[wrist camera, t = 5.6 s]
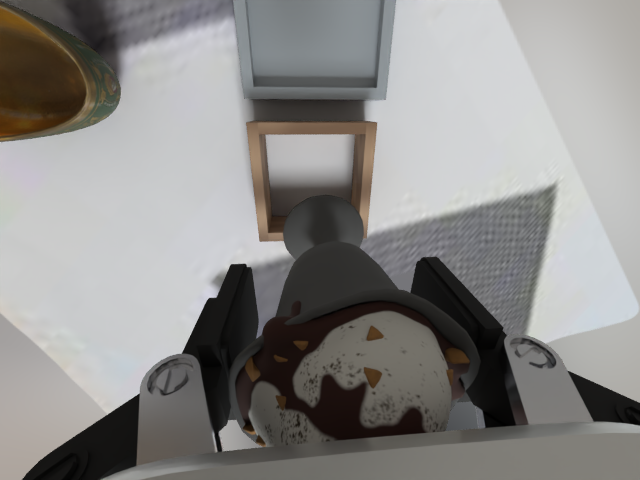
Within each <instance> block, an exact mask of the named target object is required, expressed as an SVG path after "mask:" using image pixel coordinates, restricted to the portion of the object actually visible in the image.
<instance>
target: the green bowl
mask: <svg viewBox="0 0 640 480" xmlns="http://www.w3.org/2000/svg"><path fill="white" fill-rule="evenodd" d="M120 95H121V87H120V84H119V81H118V79H117V77H116V75H115V73H114V71H113V70H112V68H111V67H110V66H109V64H108V63H107V62H106V61H105V60H104V59H103V58H102V57H101V56H100V55H99V54H98V53H97V52H95V51H94V50H93V49H92V48H90V47H89V46H88V45H86V44H85V43H83V42H82V41H81V40H79V39H78V38H76V37H75V36H73V35H71V34H69V33H67V32H66V31H64V30H62V29H60V28H59V27H56V26H54V25H52V24H51V23H49V22H46V21H44V20H42V19H41V18H38V17H36V16H34V15H32V14H30V13H28V12H26V11H23V10H21V9H18V8H16V7H14V6H12V5H9V4H6V3H4V2H1V1H0V142H4V141H15V140H24V139H32V138H39V137H45V136H51V135H58V134H62V133H67V132H72V131H75V130H79V129H82V128H86V127H88V126H91V125H94V124H96V123H98V122H100V121H102V120H103V119H105V118H107V117H108V116H109V115H110V114H111V113H113V111H114V110H115V109H116V107H117V106H118V104H119V101H120Z"/></svg>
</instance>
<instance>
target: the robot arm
mask: <svg viewBox="0 0 640 480" xmlns="http://www.w3.org/2000/svg"><path fill="white" fill-rule="evenodd" d="M411 293H412V294H414V295H416V296H419V297H421V298H423V299H426V300H428V301H429V302H431V303H432V304H434V305H435V306H436V307H438V308H439V309H441V310H442V311H443V312H445V313H446V314H448V315H449V316H450V317H451V318H452V319H453V320H455V321H456V322H457V323H458V324H459V325H460V326H461V327H462V328H464V329H465V330H466V331H467V333H468V334H469V336H470V338H471V339H472V341H473V343H474V344H475V346H476V348H477V351H478V354H479V357H480V360H481V362H480V366H479V370H478V374H477V376H476V378H475V379H474V381H473V383H472V384H471V385H470V386H469V387H468V389H467V390H466V391H465V393H464V395H463V397H462V398H460V399H459V400H458V401H457V402H468V401H472V403H473V404H474V405H475V406H476V414H477V420H478V427H479V429H469V430H457V431H443V432H432V433H420V434H408V435H396V436H385V437H373V438H362V439H350V440H339V441H328V442H317V443H306V444H295V445H284V446H273V447H262V448H251V449H242V450H234V451H223V445H222V441H221V436H220V432H219V431H220V430H221V429H222V428H223V427H224V426H226V424H227V422H228V420H236V418H235V416H234V414H233V410H232V407H231V404H230V401H229V391H228V379H229V372H230V368H231V366H232V364H233V362H234V359H235V358H236V356H238V355H239V354H240V353H241V352H242V351H243V350H244V349H245V348H246V347H247V346H248V345H250V344H251V343H252V342H253V341H255V340H256V336H257V330H258V311H257V304H256V297H255V289H254V282H253V275H252V269H251V267H247V266H246V264H231V265H230V268H229V270H228V272H227V275H226V277H225V279H224V282H223V284H222V286H221V289H220V291H219V293H218V296H217V298H209V299H208V300H207V302H206V304H205V306H204V308H203V310H202V312H201V314H200V316H199V319H198V321H197V323H196V325H195V327H194V329H193V331H192V333H191V335H190V338H189V340H188V342H187V344H186V346H185V348H184V350H183V352H182V354H176V355H173V356H169V357H167V358H165V359H163V360H161V361H160V362H158V363H157V364H155V365H154V366H153V367H152V368H151V369H150V370H149V371H148V372H147V373H146V375H145V376H144V378H143V380H142V382H141V386H140V394H138V395H137V396H135V397H134V398H132V399H131V400H129V401H128V402H126V403H125V404H123V405H122V406H120V407H119V408H117V409H115V410H114V411H112V412H111V413H109V414H108V415H106V416H105V417H103V418H102V419H100V420H99V421H97V422H96V423H94V424H93V425H91V426H90V427H88V428H87V429H85V430H84V431H82V432H81V433H79V434H78V435H76V436H75V437H73V438H72V439H70V440H69V441H67V442H66V443H64V444H63V445H61V446H60V447H58V448H57V449H55V450H54V451H52V452H51V453H49V454H48V455H47V456H45V457H44V458H43V459H42V460H40V461H39V462H38V463H37V464H36V465H35V466H34V467H33V468H32V469H31V470H30V471H29V472H28V473H27V474H26V475H25V477H24V478H23V479H22V480H640V403H638V402H636V401H634V400H632V399H630V398H627V397H625V396H623V395H621V394H619V393H616V392H614V391H612V390H610V389H607V388H605V387H603V386H601V385H598V384H596V383H594V382H592V381H590V380H587V379H585V378H583V377H580V376H578V375H576V374H574V373H572V372H569V371H567V369H566V367H565V365H564V363H563V361H562V360H561V358H560V357H559V355H558V354H557V353H556V352H555V351H554V350H553V349H552V348H551V347H549V346H548V345H546V344H545V343H543V342H541V341H539V340H537V339H535V338H533V337H530V336H527V335H522V334H511V335H509V336H507V335H506V334H505V333H504V332H503V331H502V330H503V327H502V326H501V324H500V323H499V322H498V321H497V320H496V319H495V318H494V317H493V316H492V315H491V314H490V313H489V312H488V311H487V310H486V308H485V307H484V306H483V305H482V304H481V303H480V302H479V301H478V300H477V299H476V298H475V297H474V296H473V295H472V294H471V293H470V291H469V290H468V289H467V288H466V287H465V286H464V285H463V284H462V283H461V282H460V281H459V280H458V279H457V278H456V277H455V275H454V274H453V273H452V272H451V271H450V270H449V269H448V268H447V267H446V266H445V265H444V264H443V263H442V262H441V261H440V259H439V258H437V257H423V258H421V260H420V261H418V262H417V264H416V268H415V273H414V278H413V283H412V288H411Z"/></svg>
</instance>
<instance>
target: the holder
mask: <svg viewBox="0 0 640 480" xmlns="http://www.w3.org/2000/svg"><path fill="white" fill-rule="evenodd" d="M246 125H247V134H248V143H249V151H250V160H251V169H252V178H253V187H254V196H255V205H256V214H257V223H258V231H259V240H260V242H262V241H284V238H283V228H284V224H285V220H286V218H287V217H288V216H272V209H271V197H270V186H269V174H268V162H267V150H266V138H265V134H355V145H354V162H353V179H352V195H351V205H353V206H354V207H355V208H356V210H357V211H358V212H359V214H360V216H361V218H362V220H363V226H364V236H363V238H367V227H368V217H369V206H370V195H371V184H372V173H373V163H374V152H375V141H376V130H377V123H376V122H370V121H251V122H246Z"/></svg>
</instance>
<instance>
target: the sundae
mask: <svg viewBox="0 0 640 480" xmlns="http://www.w3.org/2000/svg"><path fill="white" fill-rule="evenodd" d="M363 236H364V226H363V220H362V218H361V216H360V214H359V212H358V211H357V210H356V208H355V207H354V206H353V205H351V204H350V203H349V202H347V201H346V200H344V199H342V198H339V197H335V196H330V195H321V196H315V197H311V198H308V199H306V200H304V201H302V202H301V203H299V204H298V205H297V206H295V207H294V208H293V210H292V211H291V212H290V213H289V215H288V217H287V218H286V220H285V224H284V228H283V238H284V243H285V246H286V248H287V250H288V251H289V253H290V254H291V255H292V256H293V258H294V259H295V260H296V261H295V262H294V264H293V266H292V268H291V270H290V272H289V275H288V277H287V279H286V281H285V284H284V288H283V291H282V295H281V299H280V302H279V306H278V310H277V314H276V317H273V318H272V319H270V320H269V321H268V322H267V323H266V324H265V326H264V328H263V332H262V335H261V336H260V337H258V338H257V339H256V340H255V341H253V342H252V343H251V344H250V345H248V346H247V347H246V348H245V349H244V350H243V351H242V352H241V353H240V354H239V355H238V356H236V358H235V359H234V362H233V364H232V366H231V368H230V372H229V379H228V391H229V401H230V404H231V407H232V410H233V414H234V416H235V418H236V420H237V422H238V424H239V425H240V427H241V429H242V431H243V432H244V433H245V434H246V435H247V436H248V437H249V438H251V439H252V440H253V441H254V442H255V443H257V444H259V445H261V446H263V447H273V446H284V445H295V444H306V443H317V442H328V441H339V440H350V439H362V438H373V437H385V436H396V435H408V434H420V433H432V432H443V431H445V430H446V427H447V423H448V419H449V414H450V411H451V410H452V408H453V407H454V405H455V404H456V402H457V401H458V400H459V399H460V398H462V397H463V395H464V393H465V391H466V390H467V389H468V387H469V386H470V385H471V384H472V383H473V381H474V379H475V378H476V376H477V374H478V370H479V366H480V362H481V360H480V357H479V354H478V351H477V348H476V346H475V344H474V343H473V341H472V339H471V338H470V336H469V334H468V333H467V331H466V330H465V329H464V328H462V327H461V326H460V325H459V324H458V323H457V322H456V321H455V320H453V319H452V318H451V317H450V316H449V315H448V314H446V313H445V312H443V311H442V310H441V309H439V308H438V307H436V306H435V305H434V304H432V303H431V302H429V301H428V300H426V299H423V298H421V297H419V296H416V295H414V294H412V293H409V292H407V291H404V290H399V289H398V288H397V287H396V286H395V284H394V283H393V282H392V280H391V279H390V278H389V277H388V275H387V274H386V273H385V272H384V270H383V269H382V268H381V267H380V265H378V264H377V263H376V262H375V261H374V260H373V259H372V258H371V257H370V256H369V255H367V254H366V253H365V252H364V251H363V250H361V249H360V248H359V247H360V245H361V243H362V240H363Z"/></svg>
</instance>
